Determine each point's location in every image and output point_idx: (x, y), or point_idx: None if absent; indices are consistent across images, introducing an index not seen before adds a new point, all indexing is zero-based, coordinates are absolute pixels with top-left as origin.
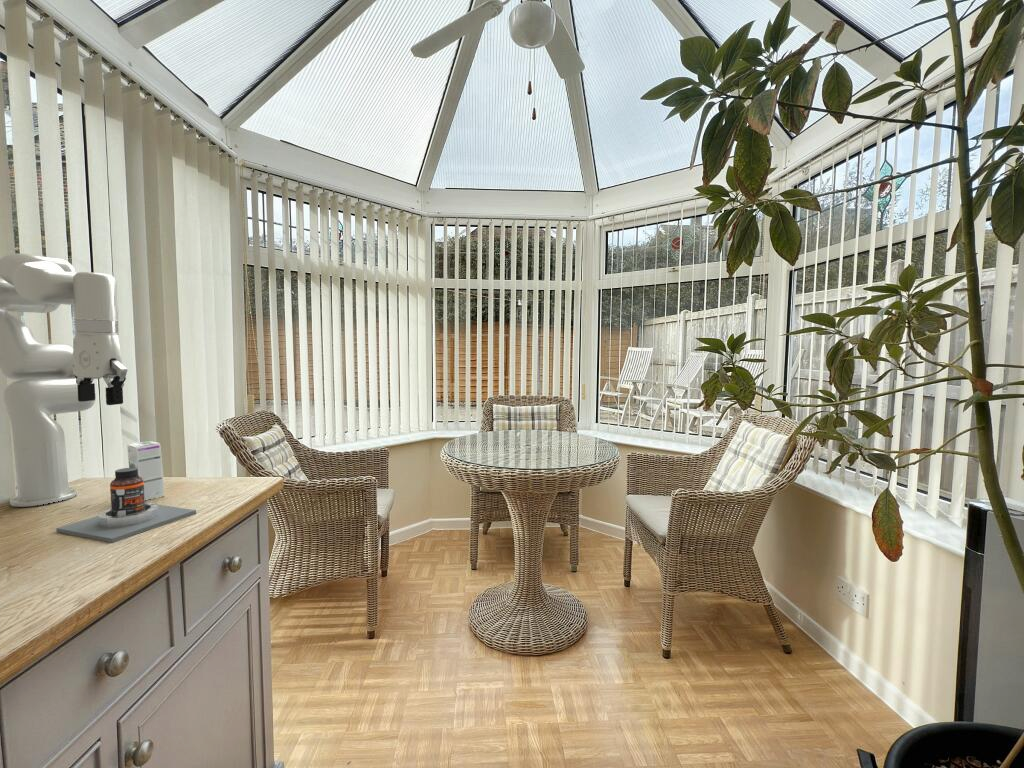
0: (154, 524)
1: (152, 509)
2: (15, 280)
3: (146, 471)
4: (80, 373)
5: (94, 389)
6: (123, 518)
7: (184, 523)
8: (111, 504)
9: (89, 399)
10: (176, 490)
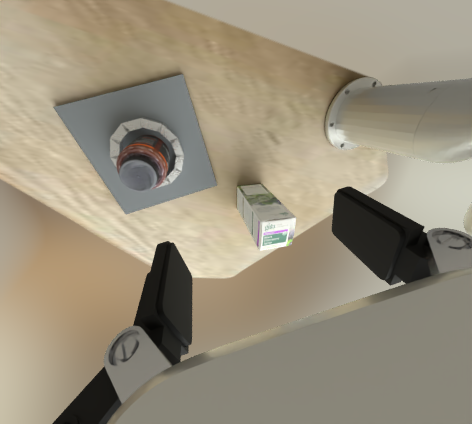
0: (93, 166)
1: None
2: None
3: (246, 210)
4: (434, 323)
5: (362, 261)
6: (110, 139)
7: (89, 192)
8: (144, 138)
9: (334, 219)
10: None
